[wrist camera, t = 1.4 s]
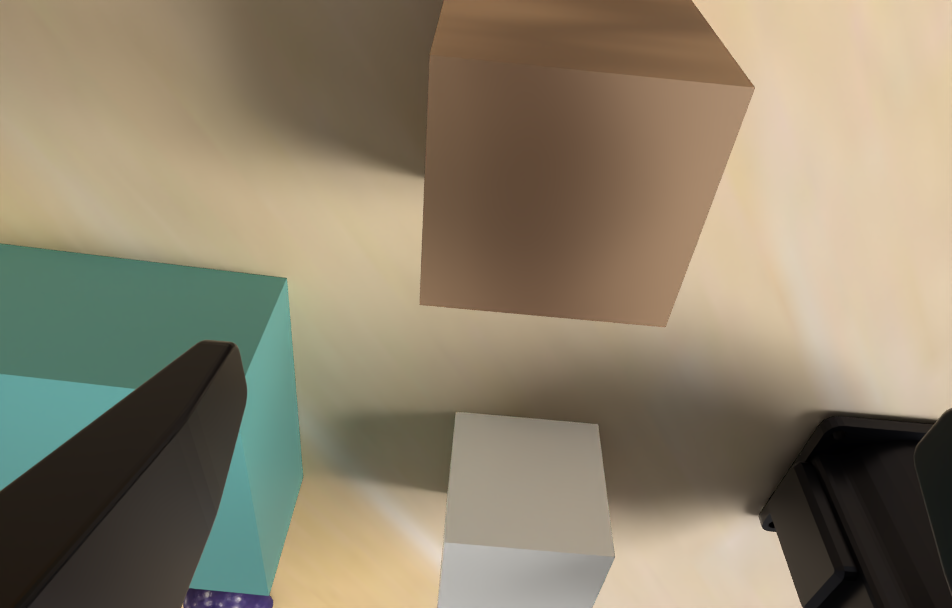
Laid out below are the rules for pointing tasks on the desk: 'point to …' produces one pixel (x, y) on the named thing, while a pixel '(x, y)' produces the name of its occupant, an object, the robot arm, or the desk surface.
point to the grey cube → (524, 515)
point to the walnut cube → (573, 154)
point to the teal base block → (138, 359)
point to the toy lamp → (224, 599)
